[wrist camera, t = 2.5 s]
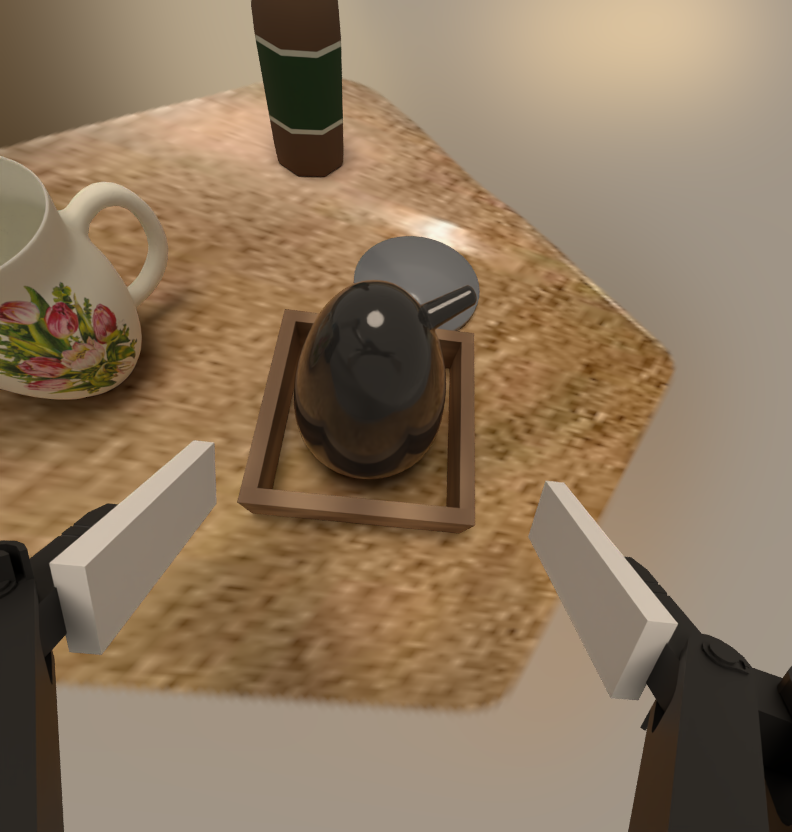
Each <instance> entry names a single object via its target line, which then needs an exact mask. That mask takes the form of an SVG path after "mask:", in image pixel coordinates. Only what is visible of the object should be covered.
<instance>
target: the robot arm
mask: <svg viewBox="0 0 792 832" xmlns="http://www.w3.org/2000/svg"><path fill="white" fill-rule="evenodd" d="M215 505H216V476H215V449H214V443H213V442H204V441H195V440H194V441H193V442H191V443H190V444H189V445H188V446H187V447H186V448H184V449H183V450H182V451H181V452H180V453H178V454H177V455H176V456H175V457H174V458H173V459H171V460H170V461H169V462H168V463H167V464H166V465H164V466H163V467H162V468H161V469H160V470H158V471H157V472H156V473H155V474H154V475H153V476H151V477H150V478H149V479H148V480H147V481H145V482H144V483H143V484H142V485H141V486H140V487H138V488H137V489H136V490H135V491H134V492H133V493H131V494H130V495H129V496H128V497H127V498H125V499H124V500H123V501H122V502H121V503H120V504H105V505H103V506H101V507H99V508H97V509H95V510H93V511H91V512H88V513H87V514H86V515H85V516H83V517H82V518H81V519H80V520H78V521H77V522H76V523H74V526H71V527H69V528H68V529H67V530H66V531H64V532H63V533H62V535H61V536H58V537H57V538H55V539H54V540H53V541H52V542H50V543H49V544H48V545H47V546H45V547H44V548H43V549H42V550H40V551H39V552H38V553H37V554H35V555H34V556H33V557H31V558H30V559H29V555H28V551H27V548H26V546H25V545H24V544H23V543H20V542H18V541H0V832H64V825H63V806H62V788H61V769H60V751H59V734H58V715H57V696H56V678H55V660H54V655H53V651H52V649H53V648H54V647H55V646H56V645H57V644H58V643H59V641H60V640H61V639H62V638H63V637H64V636H65V635H66V639H67V643H68V648H69V652H75V653H87V654H99V655H102V653H103V652H104V651H105V650H106V648H107V647H108V646H109V644H110V643H111V642H112V640H113V639H114V638H115V636H116V635H117V634H118V632H119V631H120V630H121V628H122V627H123V626H124V625H125V623H126V622H127V621H128V619H129V618H130V617H131V615H132V614H133V613H134V611H135V610H136V609H137V607H138V606H139V605H140V603H141V602H142V601H143V600H144V598H145V597H146V596H147V594H148V593H149V592H150V590H151V589H152V588H153V586H154V585H155V584H156V582H157V581H158V580H159V579H160V577H161V576H162V575H163V573H164V572H165V571H166V569H167V568H168V567H169V565H170V564H171V563H172V561H173V560H174V559H175V557H176V556H177V555H178V554H179V552H180V551H181V550H182V548H183V547H184V546H185V544H186V543H187V542H188V540H189V539H190V538H191V536H192V535H193V534H194V532H195V531H196V530H197V529H198V527H199V526H200V525H201V523H202V522H203V521H204V519H205V518H206V517H207V515H208V514H209V513H210V511H211V510H212V509H213V507H214V506H215ZM529 539H530V541H531V543H532V545H533V547H534V549H535V551H536V553H537V555H538V557H539V559H540V560H541V562H542V564H543V566H544V568H545V570H546V572H547V574H548V576H549V578H550V580H551V582H552V584H553V586H554V588H555V590H556V592H557V594H558V596H559V598H560V600H561V602H562V604H563V605H564V608H565V609H566V611H567V613H568V615H569V617H570V619H571V621H572V623H573V625H574V627H575V629H576V631H577V633H578V635H579V637H580V639H581V641H582V643H583V645H584V647H585V649H586V651H587V653H588V654H589V657H590V658H591V660H592V662H593V664H594V666H595V668H596V670H597V672H598V674H599V676H600V678H601V680H602V682H603V684H604V686H605V688H606V690H607V692H608V694H609V696H610V698H617V699H629V700H639V698H640V696H641V694H642V692H643V690H644V688H645V686H646V684H647V685H648V687H649V688H650V690H651V692H652V693H653V695H654V697H655V698H656V700H655V702H654V704H653V706H652V707H651V709H650V711H649V713H648V715H647V716H646V718H645V720H644V722H643V724H642V725H641V728H642V729H643V730H646V729H647V732H646V737H645V743H644V748H643V754H642V759H641V765H640V770H639V776H638V781H637V786H636V792H635V797H634V803H633V809H632V814H631V819H630V825H629V830H628V832H792V666H791V667H790V669H789V670H788V671H787V673H786V674H785V676H784V677H783V678H781V677H777V676H775V675H772V674H769V673H766V672H763V671H760V670H757V669H755V668H752V667H751V666H750V664H749V663H748V662H747V661H746V659H745V658H744V657H743V656H742V655H740V653H738V652H737V651H736V650H735V649H733V648H732V647H731V646H729V645H728V644H726V643H724V642H723V641H721V640H719V639H717V638H714V637H712V636H710V635H706V634H701V632H700V631H699V630H698V629H697V628H696V626H694V624H693V623H692V622H691V621H690V620H689V618H688V617H687V616H686V615H685V614H684V612H683V611H682V610H681V609H680V608H679V607H678V606H677V604H676V603H675V602H674V601H673V599H672V598H671V597H670V596H667V593H666V591H665V590H664V589H663V588H662V587H661V586H660V585H658V582H657V581H656V580H655V578H654V577H653V576H652V575H651V574H650V572H649V571H648V570H647V569H646V568H644V567H643V566H642V565H640V564H639V563H638V562H636V561H635V560H634V559H633V558H631V557H624V556H623V555H622V554H621V553H620V551H619V550H618V549H617V548H616V546H615V545H614V544H613V543H612V542H611V540H610V539H609V538H608V537H607V535H606V534H605V533H604V532H603V530H602V529H601V528H600V527H599V525H598V524H597V523H596V522H595V521H594V519H593V518H592V517H591V516H590V514H589V513H588V512H587V511H586V509H585V508H584V507H583V506H582V504H581V503H580V502H579V501H578V499H577V498H576V497H575V496H574V495H573V493H572V492H571V491H570V490H569V488H568V487H567V486H566V485H565V483H561V482H552V481H545V484H544V488H543V491H542V494H541V497H540V501H539V504H538V507H537V510H536V514H535V517H534V520H533V524H532V527H531V530H530V533H529Z"/></svg>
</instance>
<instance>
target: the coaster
mask: <svg viewBox="0 0 792 832" xmlns="http://www.w3.org/2000/svg"><path fill="white" fill-rule="evenodd" d="M366 280H383V281H388V282H392V283H394V284H397V285H399V286H400V287H402V288H403V289H405V290H406V291H407V292H409V293H410V294H411V295H412V296H413V297H414V298H415V299H416V300H417V301H418V302H419V303H420V304H424V303H426V302H429V301H431V300H433V299H436V298H438V297H440V296H443V295H445V294H447V293H450V292H452V291H454V290H456V289H459V288H461V287H463V286H466V285H469V286H471V287H472V288H473V289H474V291H475V293H476V296H477V301H476V304H475V305H474V306H472V307H470V308H469V309H467V310H466V311H464V312H462V313H461V314H459V315H457V316H456V317H454V318H453V319H451V320H449V321H448V322H446V323H445V324H443V325H441V326H440V327H438V328H437V329H444V330H452V331H458V330H459V329H461V328H462V327H463V326H464V325H465V324H466V323H467V322H468V321H469V319H470V318H471V316H472V315H473V313H474V310H475V308H476V306H477V303H478V299H479V283H478V279H477V276H476V274H475V272H474V270H473V268H472V267H471V265H470V264H469V263H468V261H467V260H466V259H465V258H464V257H463V256H462V255H460V254H459V253H458V252H457V251H455V250H454V249H452V248H451V247H449V246H447V245H445V244H443V243H441V242H438V241H435V240H432V239H429V238H423V237H415V236H404V237H396V238H391V239H388V240H385V241H382V242H380V243H378V244H376V245H375V246H373V247H372V248H370V249H369V250H368V251H367V252H366V253H365V254H364V255H363V256H362V257H361V259H360V261H359V262H358V264H357V267H356V270H355V274H354V284H355V283H358V282H361V281H366Z"/></svg>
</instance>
